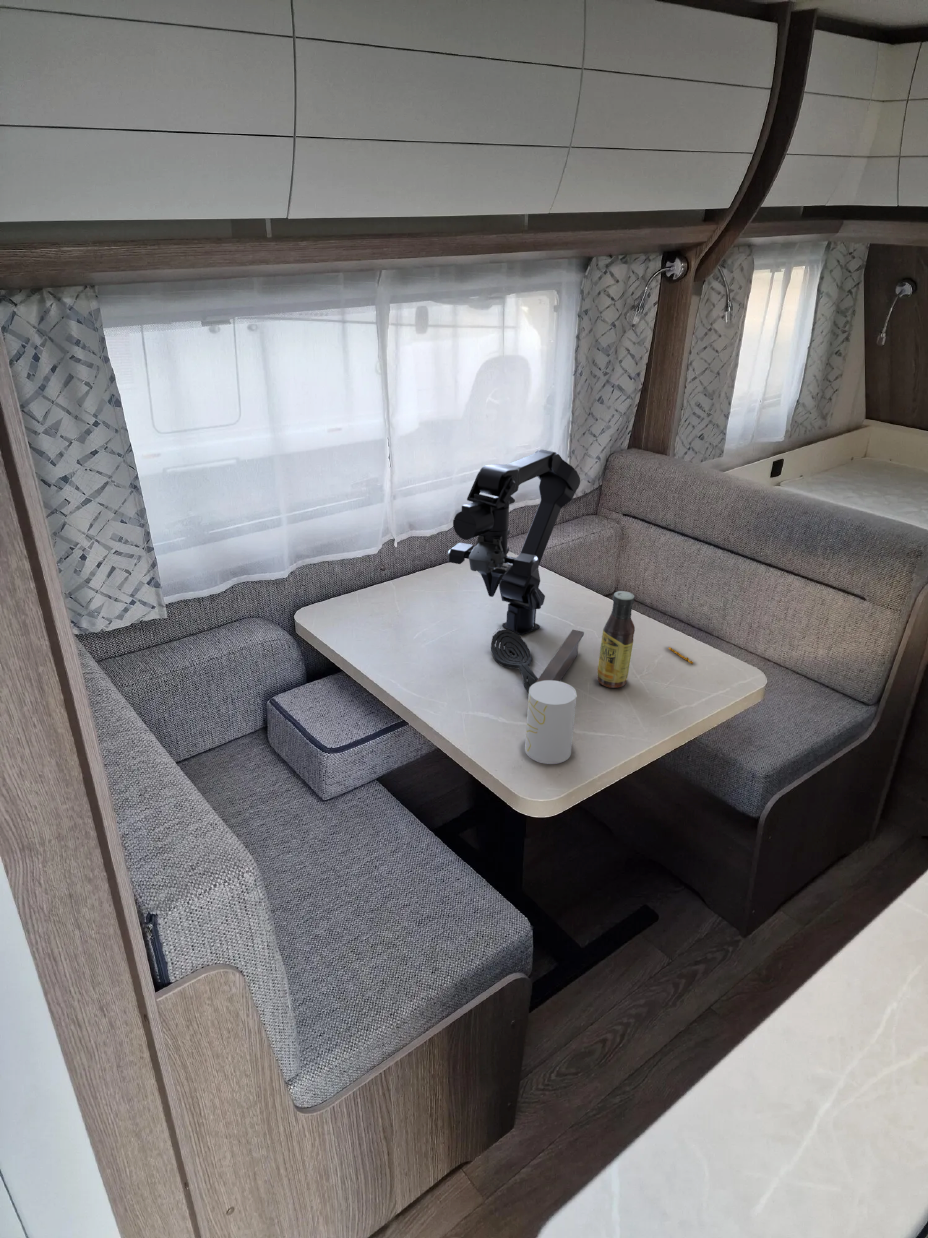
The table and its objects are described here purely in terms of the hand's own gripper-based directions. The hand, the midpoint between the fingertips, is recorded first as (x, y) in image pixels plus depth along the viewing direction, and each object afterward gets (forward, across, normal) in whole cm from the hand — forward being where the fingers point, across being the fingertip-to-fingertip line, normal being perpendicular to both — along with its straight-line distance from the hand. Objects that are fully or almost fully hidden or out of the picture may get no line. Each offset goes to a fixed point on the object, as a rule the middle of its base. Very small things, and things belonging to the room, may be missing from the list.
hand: (491, 596), depth 176 cm
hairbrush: (+12, +10, -7) cm, 17 cm away
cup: (+12, +24, -33) cm, 43 cm away
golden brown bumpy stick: (+12, +40, +13) cm, 43 cm away
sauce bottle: (+12, +29, -4) cm, 32 cm away
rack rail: (+12, +18, -10) cm, 24 cm away
